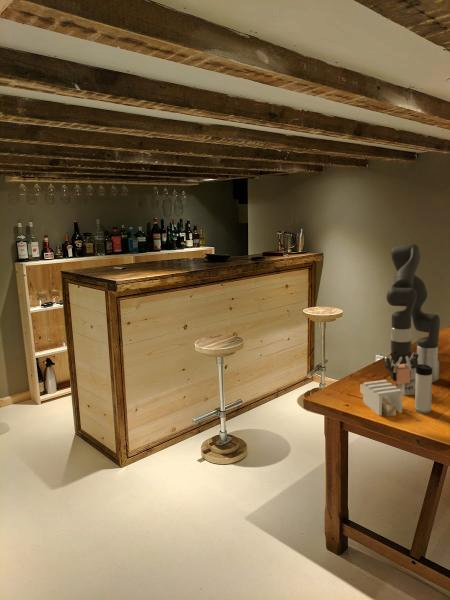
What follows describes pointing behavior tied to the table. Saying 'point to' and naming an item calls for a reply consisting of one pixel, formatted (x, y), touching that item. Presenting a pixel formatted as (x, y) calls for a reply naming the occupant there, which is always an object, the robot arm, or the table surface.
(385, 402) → the rod
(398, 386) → the coffee box
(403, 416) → the table surface
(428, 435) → the table surface
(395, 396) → the tunnel
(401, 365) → the block
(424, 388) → the travel mug
